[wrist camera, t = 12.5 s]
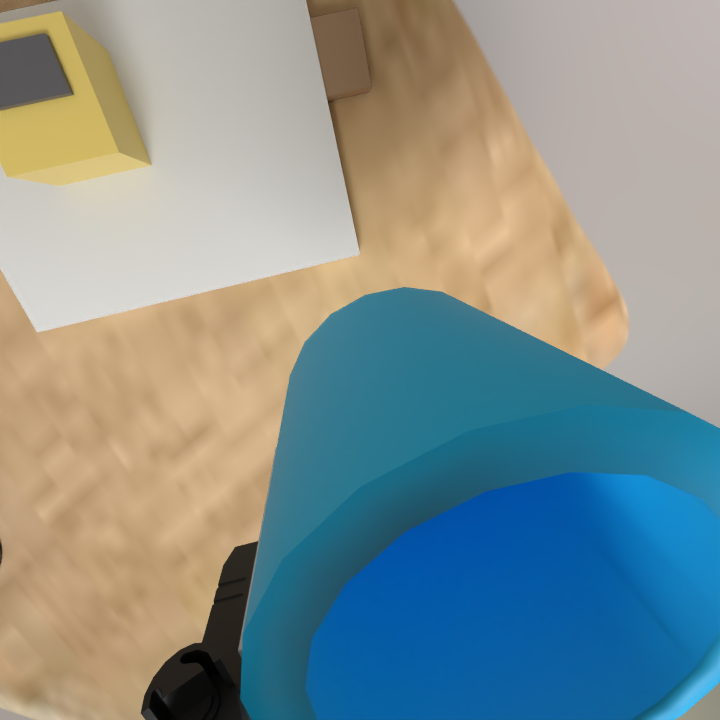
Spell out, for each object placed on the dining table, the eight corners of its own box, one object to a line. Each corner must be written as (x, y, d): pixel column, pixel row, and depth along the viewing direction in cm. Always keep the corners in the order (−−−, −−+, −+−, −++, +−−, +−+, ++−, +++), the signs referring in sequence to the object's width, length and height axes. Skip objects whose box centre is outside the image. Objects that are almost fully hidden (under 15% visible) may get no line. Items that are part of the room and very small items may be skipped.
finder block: (58, 185, 22) (2, 176, 18) (4, 73, 20) (-73, 33, 16) (151, 165, 23) (116, 151, 19) (108, 51, 20) (56, 7, 16)
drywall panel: (9, 337, 26) (-5, 342, 25) (-162, 63, 20) (-190, 53, 19) (395, 244, 27) (399, 245, 26) (345, -47, 21) (346, -62, 20)
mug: (275, 292, 11) (178, 436, 3) (524, 282, 12) (908, 378, 4) (304, 572, 15) (292, 922, 7) (486, 551, 16) (642, 845, 8)
